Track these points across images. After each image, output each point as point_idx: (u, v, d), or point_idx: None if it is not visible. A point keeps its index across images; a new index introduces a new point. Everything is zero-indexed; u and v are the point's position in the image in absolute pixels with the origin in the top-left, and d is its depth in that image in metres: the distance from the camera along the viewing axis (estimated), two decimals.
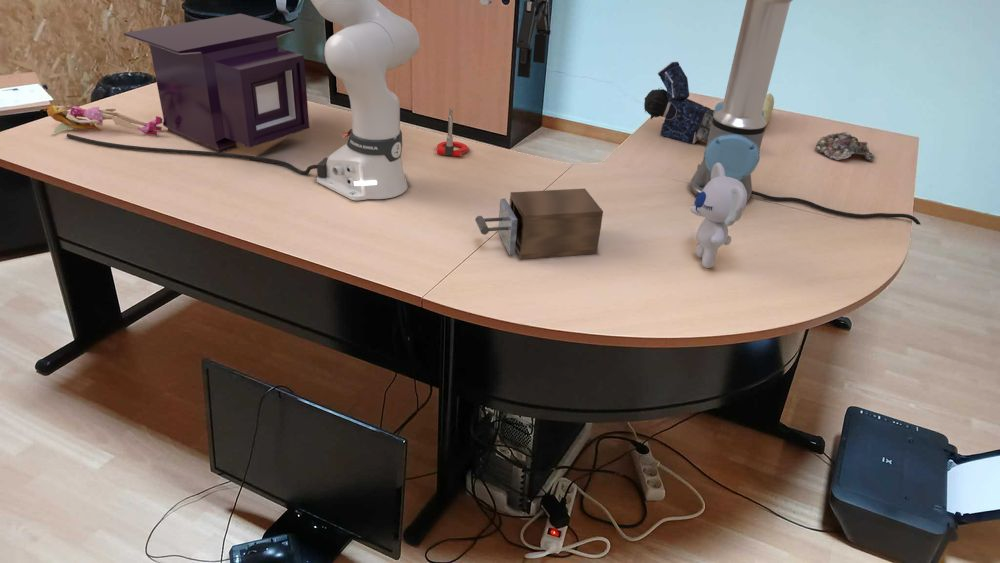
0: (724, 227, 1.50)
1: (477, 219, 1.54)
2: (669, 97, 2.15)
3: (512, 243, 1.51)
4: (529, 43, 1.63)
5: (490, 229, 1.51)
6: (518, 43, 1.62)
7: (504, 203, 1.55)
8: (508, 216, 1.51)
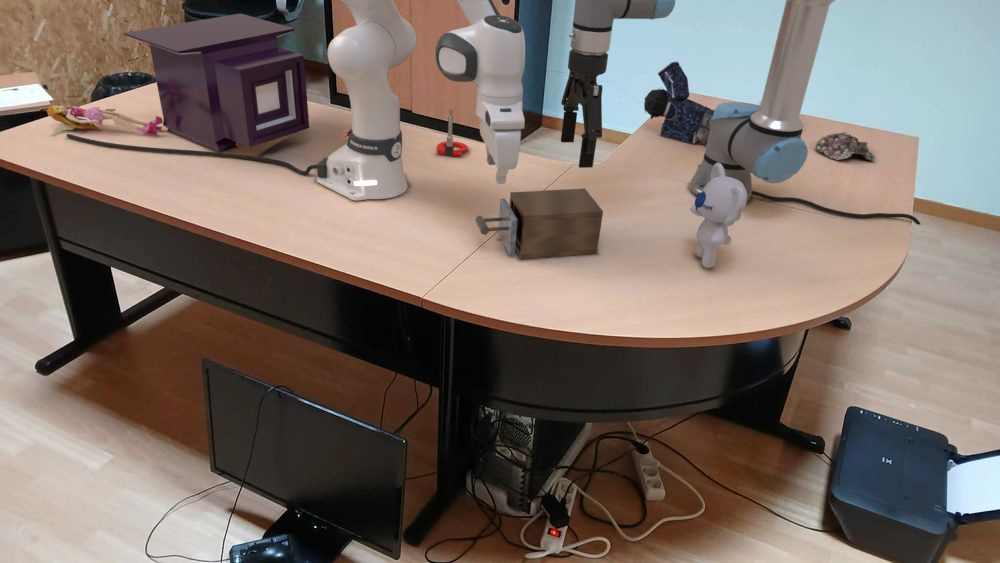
0: (724, 227, 1.50)
1: (477, 219, 1.54)
2: (669, 97, 2.15)
3: (512, 243, 1.51)
4: (597, 131, 1.42)
5: (490, 229, 1.51)
6: (591, 134, 1.40)
7: (504, 203, 1.55)
8: (508, 216, 1.51)
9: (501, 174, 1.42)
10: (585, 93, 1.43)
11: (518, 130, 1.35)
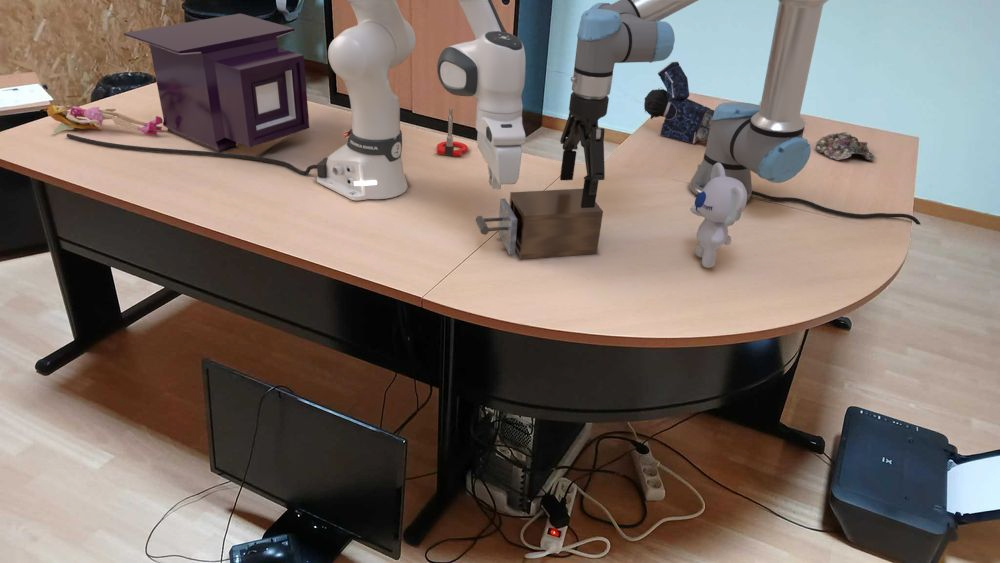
0: (724, 227, 1.50)
1: (477, 219, 1.54)
2: (669, 97, 2.15)
3: (512, 243, 1.51)
4: None
5: (490, 229, 1.51)
6: (594, 177, 1.42)
7: (504, 203, 1.55)
8: (508, 216, 1.51)
9: (496, 180, 1.46)
10: (587, 135, 1.44)
11: (519, 146, 1.37)
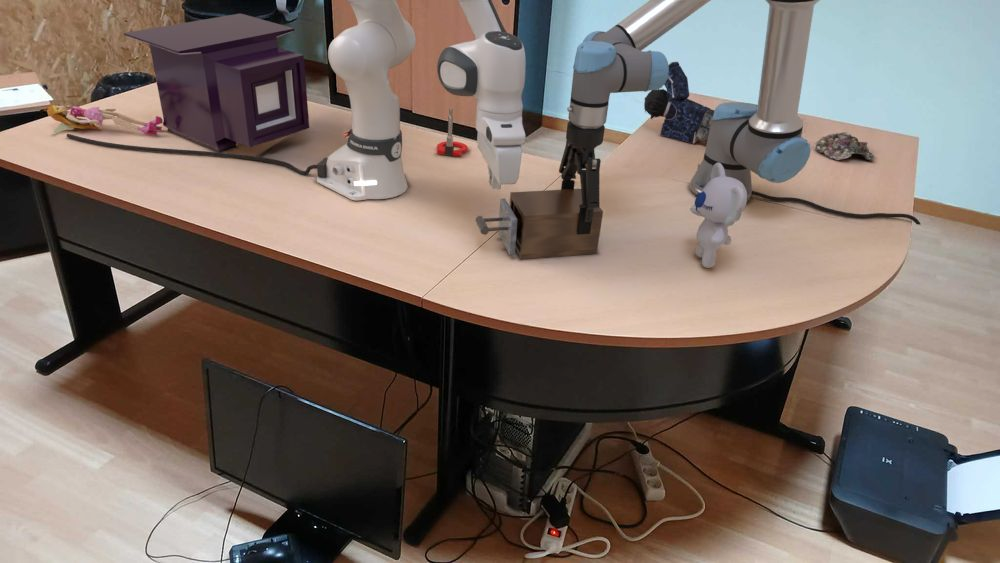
0: (724, 227, 1.50)
1: (477, 219, 1.54)
2: (669, 97, 2.15)
3: (512, 243, 1.51)
4: None
5: (490, 229, 1.51)
6: (589, 205, 1.46)
7: (504, 203, 1.55)
8: (508, 216, 1.51)
9: (496, 180, 1.46)
10: (583, 163, 1.48)
11: (519, 146, 1.37)
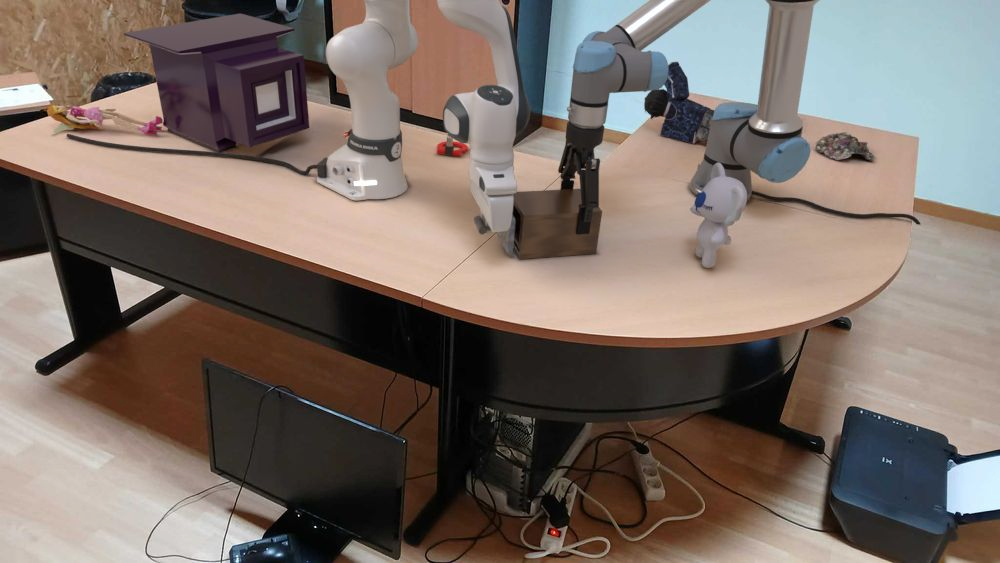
0: (724, 227, 1.50)
1: (475, 219, 1.54)
2: (669, 97, 2.15)
3: (510, 243, 1.51)
4: None
5: (488, 229, 1.51)
6: (588, 205, 1.46)
7: None
8: None
9: None
10: (583, 163, 1.48)
11: (511, 195, 1.42)
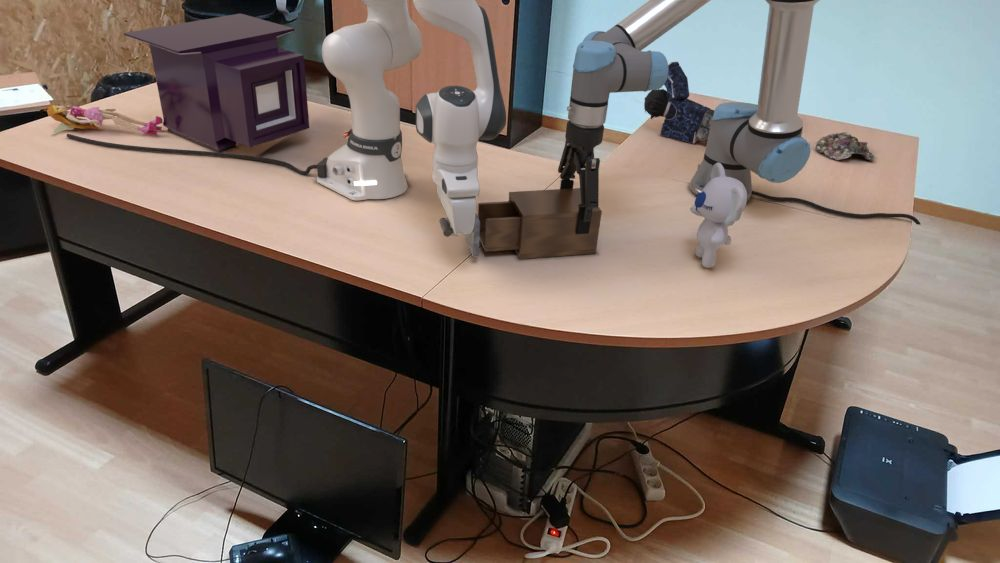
0: (724, 227, 1.50)
1: (440, 221, 1.52)
2: (669, 97, 2.15)
3: (475, 246, 1.49)
4: None
5: (453, 231, 1.49)
6: (588, 205, 1.46)
7: None
8: None
9: None
10: (583, 163, 1.47)
11: (474, 197, 1.40)
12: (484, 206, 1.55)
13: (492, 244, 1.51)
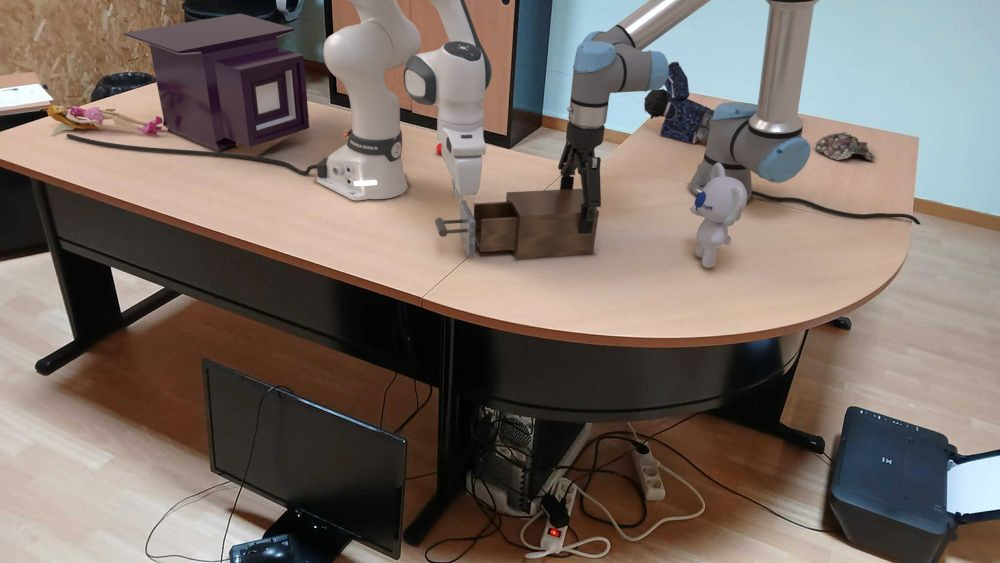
0: (724, 227, 1.50)
1: (436, 221, 1.52)
2: (669, 97, 2.15)
3: (471, 246, 1.49)
4: None
5: (449, 231, 1.49)
6: (591, 204, 1.45)
7: (464, 205, 1.53)
8: (467, 218, 1.49)
9: None
10: (583, 163, 1.48)
11: (479, 156, 1.36)
12: (480, 207, 1.55)
13: (487, 244, 1.51)
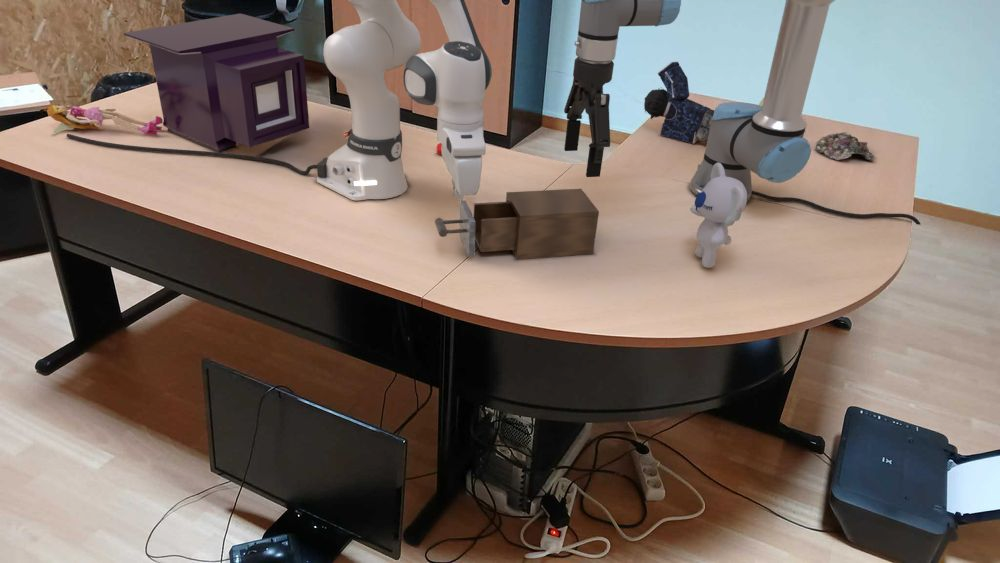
0: (724, 227, 1.50)
1: (436, 221, 1.52)
2: (669, 97, 2.15)
3: (471, 246, 1.49)
4: (605, 140, 1.41)
5: (449, 231, 1.49)
6: (599, 143, 1.38)
7: (464, 205, 1.53)
8: (467, 218, 1.49)
9: None
10: (591, 102, 1.41)
11: (479, 156, 1.36)
12: (480, 207, 1.55)
13: (487, 244, 1.51)
